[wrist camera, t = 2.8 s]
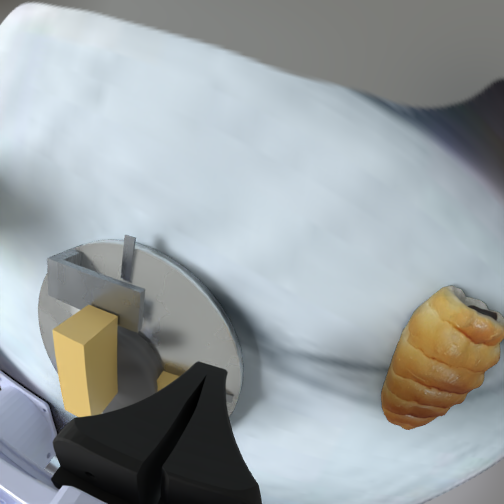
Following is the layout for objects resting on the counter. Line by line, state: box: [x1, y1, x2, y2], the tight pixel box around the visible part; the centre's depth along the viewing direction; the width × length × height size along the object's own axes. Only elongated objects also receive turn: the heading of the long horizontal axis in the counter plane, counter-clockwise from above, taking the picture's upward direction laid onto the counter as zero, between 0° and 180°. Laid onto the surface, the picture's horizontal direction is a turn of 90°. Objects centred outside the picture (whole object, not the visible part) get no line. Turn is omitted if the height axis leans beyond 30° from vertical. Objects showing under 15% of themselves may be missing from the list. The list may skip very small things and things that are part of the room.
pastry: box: [381, 286, 504, 430], centre depth 14 cm, size 9×7×4 cm
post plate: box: [38, 235, 243, 417], centre depth 17 cm, size 16×15×3 cm
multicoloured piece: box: [52, 305, 180, 417], centre depth 14 cm, size 8×9×5 cm
